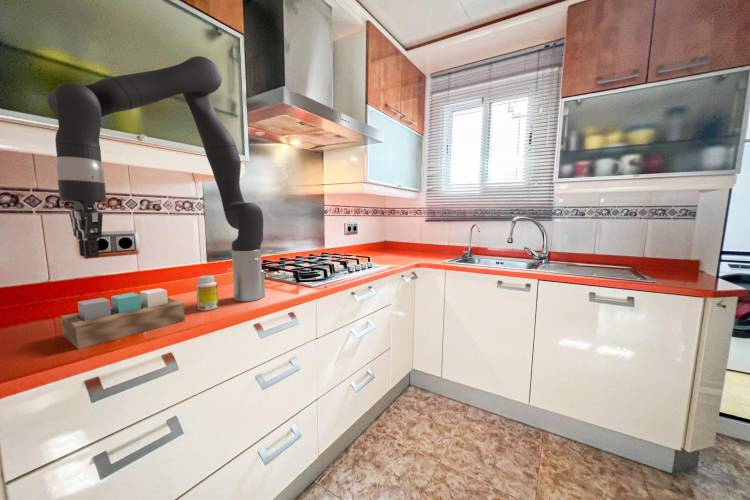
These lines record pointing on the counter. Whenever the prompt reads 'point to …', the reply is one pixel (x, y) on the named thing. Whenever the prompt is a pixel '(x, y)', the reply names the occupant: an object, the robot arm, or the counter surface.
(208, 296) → the supplement bottle
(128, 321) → the frame
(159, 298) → the ivory key
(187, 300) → the counter surface
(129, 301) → the teal key
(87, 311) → the grey key
